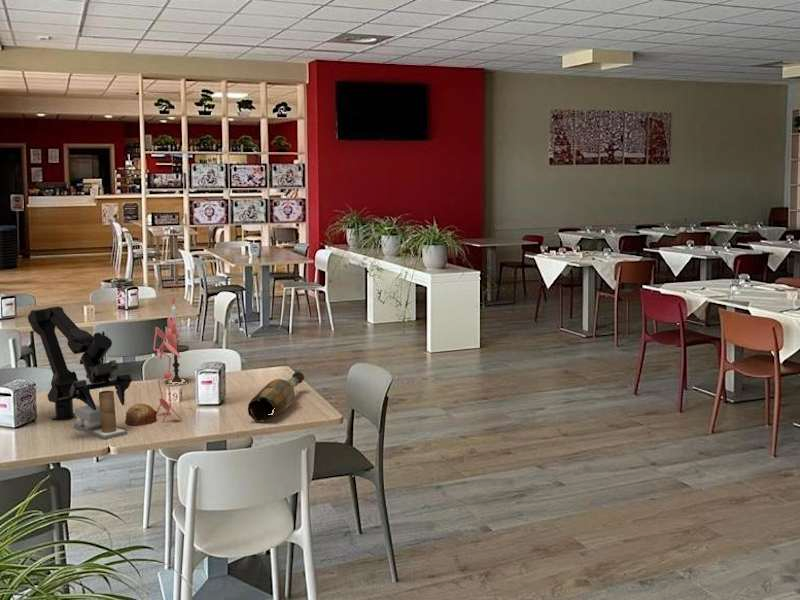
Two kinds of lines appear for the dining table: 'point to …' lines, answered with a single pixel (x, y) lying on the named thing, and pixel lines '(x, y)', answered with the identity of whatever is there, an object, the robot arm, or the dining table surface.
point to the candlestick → (179, 349)
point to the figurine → (172, 347)
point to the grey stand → (93, 423)
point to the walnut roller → (107, 411)
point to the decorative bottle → (274, 398)
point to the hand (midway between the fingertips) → (109, 407)
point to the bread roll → (140, 415)
